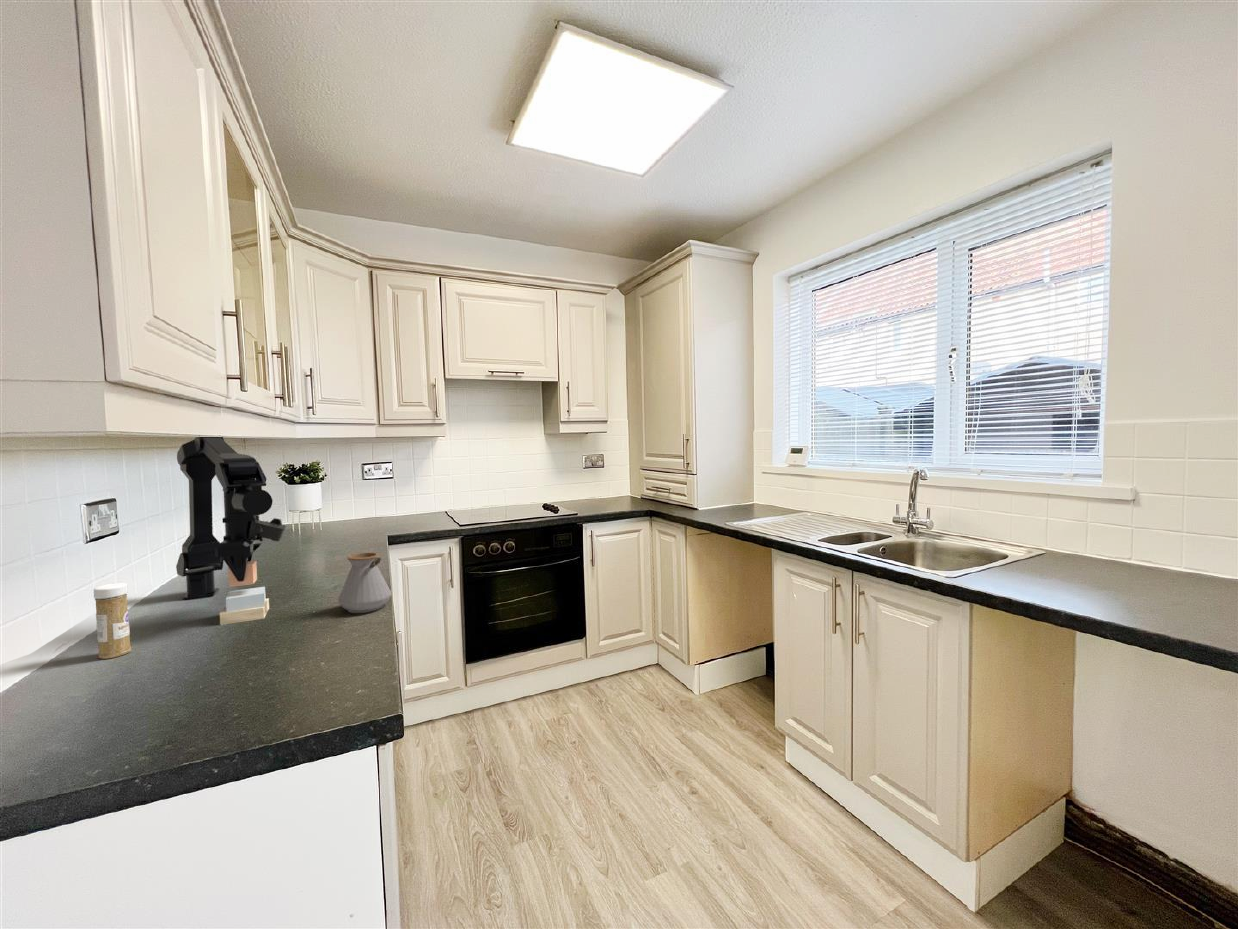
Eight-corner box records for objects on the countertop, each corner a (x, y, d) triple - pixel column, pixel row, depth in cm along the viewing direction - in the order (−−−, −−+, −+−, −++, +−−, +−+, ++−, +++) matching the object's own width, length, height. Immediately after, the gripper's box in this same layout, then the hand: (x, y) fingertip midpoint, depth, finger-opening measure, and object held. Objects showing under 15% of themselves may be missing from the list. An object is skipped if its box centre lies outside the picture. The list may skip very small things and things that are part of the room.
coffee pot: (334, 607, 123) (332, 546, 122) (384, 597, 130) (382, 540, 129) (352, 632, 106) (350, 562, 105) (409, 620, 113) (407, 554, 112)
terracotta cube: (233, 581, 118) (232, 562, 117) (257, 579, 120) (256, 560, 119) (229, 586, 114) (228, 567, 113) (253, 584, 116) (252, 564, 115)
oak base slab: (228, 616, 119) (227, 603, 118) (269, 610, 122) (268, 598, 122) (220, 627, 112) (219, 613, 111) (264, 620, 115) (263, 607, 115)
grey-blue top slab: (229, 604, 118) (228, 591, 118) (265, 598, 122) (264, 586, 122) (226, 612, 112) (225, 599, 112) (264, 606, 116) (264, 593, 116)
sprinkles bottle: (131, 654, 96) (127, 585, 96) (97, 662, 93) (92, 590, 92) (131, 647, 100) (127, 580, 99) (98, 654, 96) (94, 585, 96)
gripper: (275, 514, 111) (278, 584, 112) (287, 504, 128) (289, 565, 128) (212, 518, 106) (216, 591, 107) (232, 508, 123) (236, 571, 123)
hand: (243, 578), depth 117 cm, fingers closed on terracotta cube, 4 cm apart
